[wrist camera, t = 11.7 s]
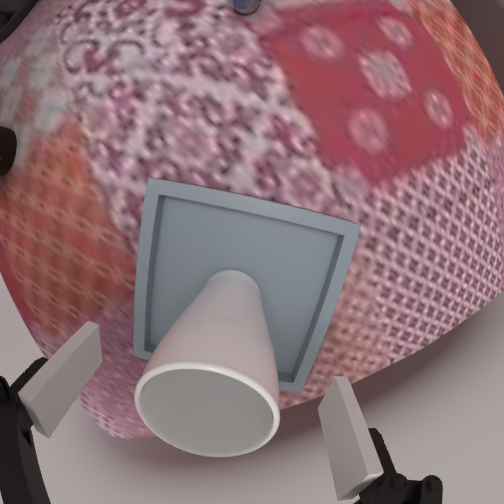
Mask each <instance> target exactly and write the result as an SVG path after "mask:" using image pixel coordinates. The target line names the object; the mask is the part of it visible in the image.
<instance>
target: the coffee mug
mask: <svg viewBox="0 0 504 504" xmlns="http://www.w3.org/2000/svg"><path fill="white" fill-rule="evenodd" d="M16 144H17V142H16V135H15V133H14V131H13V130H11V129H8V128H5V127H1V126H0V176H1V175H4V174H6V173H7V172H8V171H9V170H10V168H11V166H12V164H13V161H14V158H15V154H16Z"/></svg>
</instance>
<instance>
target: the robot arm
mask: <svg viewBox="0 0 504 504" xmlns="http://www.w3.org/2000/svg"><path fill="white" fill-rule="evenodd" d="M36 1H37V0H0V42H2V41H3V40H4V39H5V38H6V37H7V36H8V35H9V34H10V33H11V32H12V31H13V30H14V29H15V28H16V27H17V26H18V24H19V23H20V22H21V21H22V20H23V18H24V17H25V16H26V15H27V13H28V12H29V11H30V9H31V8H32V7H33V5H34V4H35V2H36ZM102 362H103V361H102V353H101V343H100V331H99V325H98V324H95V323H93V322H90V321H87V322H86V323H85V324H84V325H83V326H82V327H81V328H80V329H79V330H78V331H77V332H76V333H75V334H74V335H73V336H72V337H71V338H70V339H69V340H68V341H67V342H66V343H65V344H64V345H63V346H62V347H61V348H60V349H59V350H58V351H57V352H56V353H55V354H54V355H53V356H52V357H51V358H50V359H49V360H48V359H46V358H44V357H42V358H40V359H38V360H36V361H34V362H33V363H32V364H31V365H30V366H29V368H27V369H26V370H25V372H23V373H22V374H21V376H20V377H19V378H18V379H17V380H16V381H15V382H14V383H13V384H12V385H11V386H10V387H9V385H8V383H7V381H6V379H5V378H4V377H2V376H0V491H1V496H2V499H3V503H4V504H51V503H50V500H49V497H48V494H47V491H46V488H45V485H44V482H43V479H42V475H41V471H40V468H39V464H38V460H37V455H36V451H35V446H34V442H33V436H32V431H31V429H30V428H31V426H32V425H34V426H35V428H36V430H37V431H38V432H40V433H41V434H43V435H44V436H46V437H47V438H50V436H51V435H52V433H53V432H54V430H55V429H56V427H57V426H58V424H59V423H60V421H61V420H62V418H63V417H64V415H65V414H66V412H67V411H68V409H69V408H70V407H71V405H72V404H73V402H74V401H75V399H76V398H77V397H78V395H79V394H80V392H81V391H82V390H83V388H84V387H85V385H86V384H87V383H88V381H89V380H90V378H91V377H92V376H93V374H94V373H95V372H96V370H97V369H98V368H99V366H100V365H101V364H102ZM318 412H319V416H320V421H321V425H322V429H323V434H324V438H325V442H326V447H327V451H328V456H329V460H330V465H331V470H332V474H333V479H334V483H335V489H336V494H337V499H338V501H339V500H346V499H353V498H354V497H355V496H357V495H358V494H359V496H360V499H359V500H358V501H356V502H355V503H354V504H442V492H443V486H442V482H441V480H440V479H439V478H438V477H437V476H434V475H429V476H427V477H425V478H424V479H423V480H422V481H415V480H407V479H406V477H405V476H403V475H402V474H399V473H397V472H396V470H395V468H394V465H393V463H392V460H391V458H390V455H389V452H388V450H387V448H386V445H385V444H384V440H383V438H382V435H381V434H380V433H379V432H378V431H377V429H375V428H367V425H366V423H365V420H364V418H363V415H362V412H361V410H360V407H359V405H358V402H357V400H356V397H355V395H354V393H353V390H352V387H351V385H350V382H349V380H348V378H347V377H342V376H335V377H334V379H333V381H332V383H331V385H330V387H329V389H328V391H327V392H326V394H325V396H324V398H323V400H322V402H321V403H320V405H319V407H318Z"/></svg>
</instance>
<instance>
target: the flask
mask: <svg viewBox="0 0 504 504" xmlns="http://www.w3.org/2000/svg"><path fill="white" fill-rule="evenodd" d="M260 1H261V0H234V7H235V10H236V11H237V12H238V11H239V12H238V13H240V14H247V15H250V14H252V13H253V12H255V11H256V10H257V8H258V7H260V4H259V3H260Z"/></svg>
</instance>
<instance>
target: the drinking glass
mask: <svg viewBox="0 0 504 504" xmlns="http://www.w3.org/2000/svg"><path fill="white" fill-rule="evenodd" d="M134 400H135V406H136V409H137V412H138V414H139V416H140V417H141V419H142V421H143V422H144V423H145V425H146V426H147V427H148V428H149V429H150V430H151V431H152V432H153V433H154V434H155V435H157V436H158V437H159V438H161V439H162V440H164V441H165V442H167V443H169V444H171V445H172V446H174V447H177V448H179V449H181V450H184V451H187V452H190V453H194V454H198V455H203V456H210V457H230V456H237V455H242V454H246V453H249V452H252V451H254V450H256V449H258V448H260V447H262V446H263V445H264V444H266V443H267V442H268V441H269V440H270V439H271V438H272V437H273V436H274V434H275V433H276V431H277V429H278V426H279V422H280V397H279V380H278V371H277V364H276V359H275V354H274V349H273V345H272V341H271V337H270V333H269V330H268V326H267V322H266V318H265V314H264V310H263V305H262V296H261V291H260V289H259V286H258V285H257V283H256V282H255V280H254V279H253V278H252V277H250V276H249V275H247V274H246V273H244V272H241V271H238V270H224V271H220V272H218V273H216V274H214V275H213V276H212V277H210V278H209V279H208V281H207V282H206V283H205V285H204V287H203V289H202V290H201V291H200V292H199V294H198V295H197V296H196V297H195V298H194V300H193V301H192V302H191V303H190V304H189V306H188V307H187V308H186V309H185V310H184V311H183V313H182V314H181V315H180V316H179V317H178V319H177V320H176V321H175V322H174V323H173V325H172V326H171V327H170V328H169V330H168V331H167V332H166V334H165V335H164V336H163V338H162V339H161V341H160V342H159V344H158V345H157V347H156V349H155V350H154V352H153V354H152V355H151V357H150V359H149V361H148V363H147V365H146V367H145V369H144V371H143V373H142V375H141V377H140V379H139V381H138V383H137V385H136V388H135V393H134Z"/></svg>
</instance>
